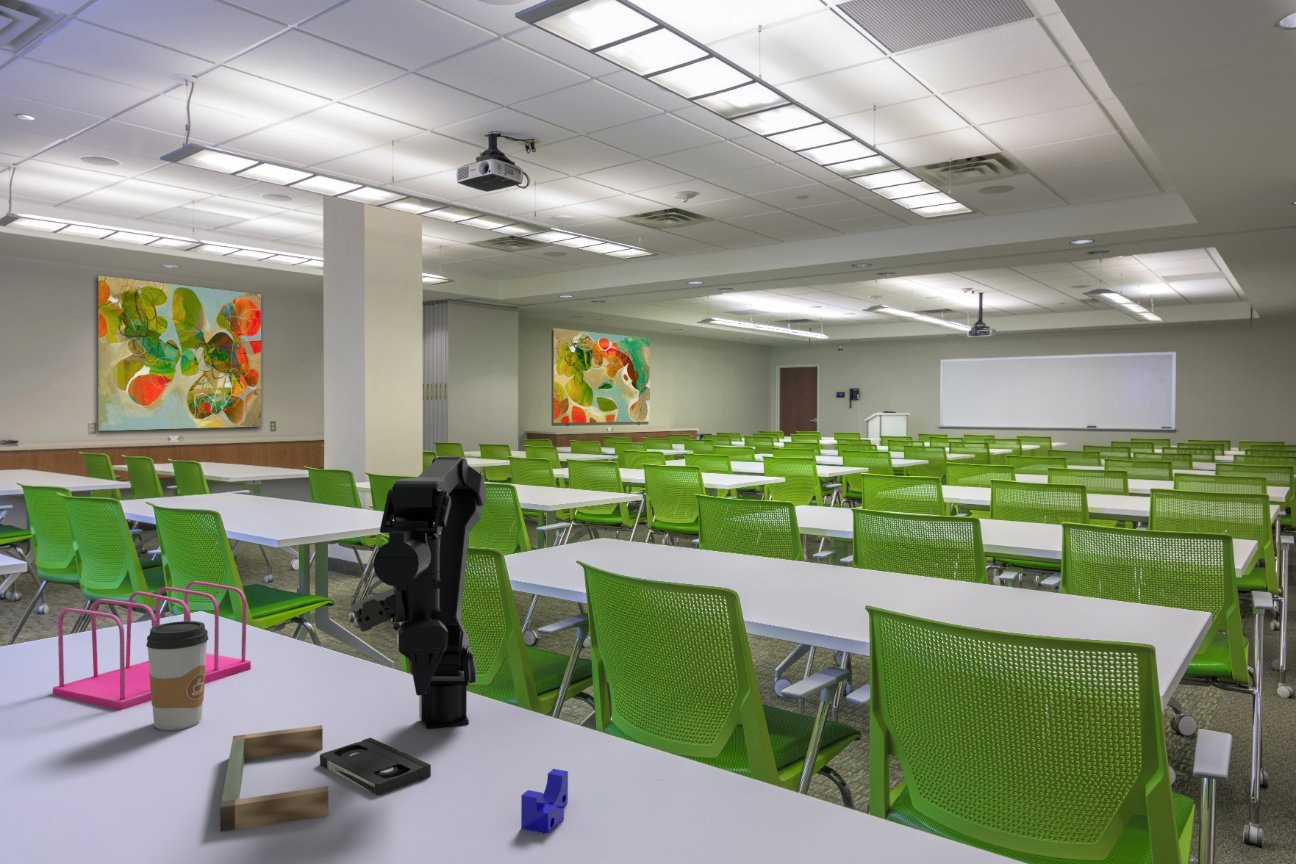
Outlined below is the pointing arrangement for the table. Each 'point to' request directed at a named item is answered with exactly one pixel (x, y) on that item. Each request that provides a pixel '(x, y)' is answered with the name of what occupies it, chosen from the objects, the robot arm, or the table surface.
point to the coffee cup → (177, 673)
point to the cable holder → (545, 804)
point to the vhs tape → (375, 766)
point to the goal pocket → (274, 805)
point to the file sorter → (134, 680)
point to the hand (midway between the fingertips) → (417, 684)
